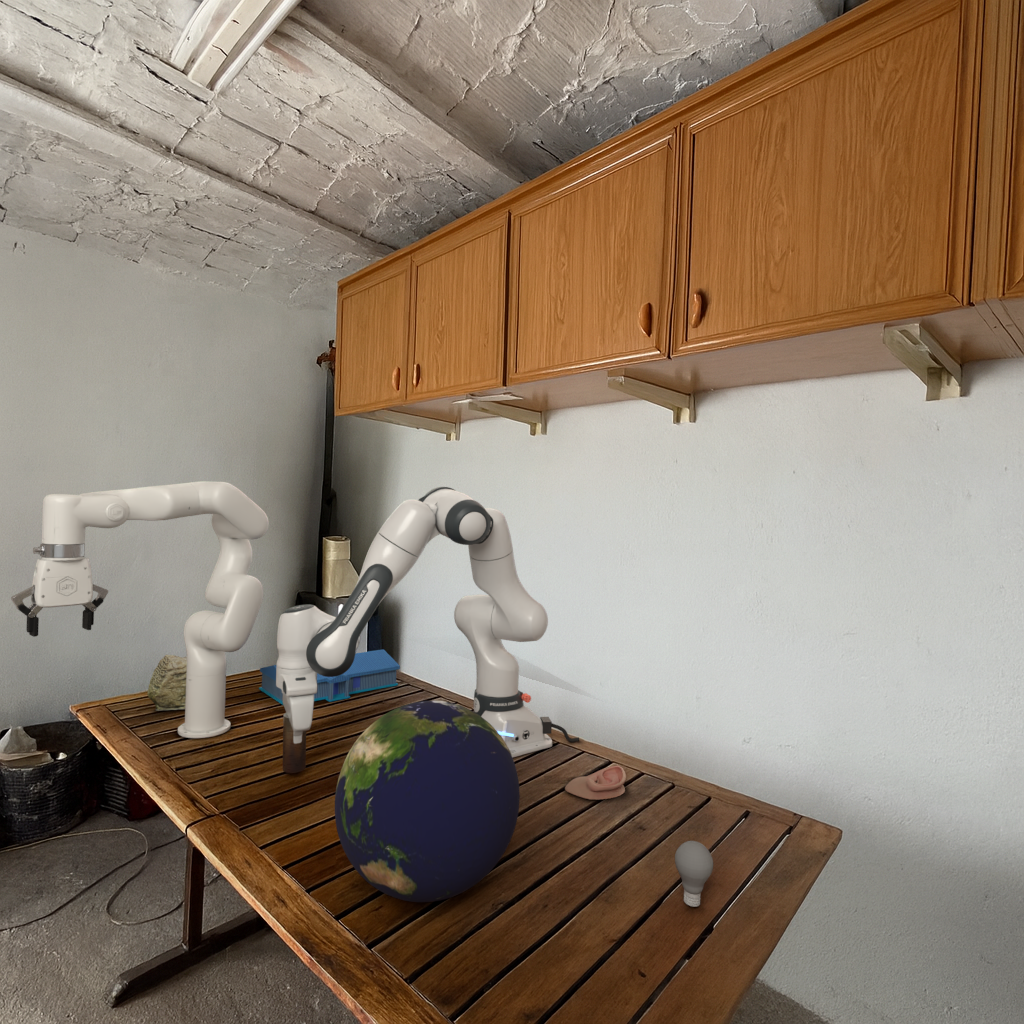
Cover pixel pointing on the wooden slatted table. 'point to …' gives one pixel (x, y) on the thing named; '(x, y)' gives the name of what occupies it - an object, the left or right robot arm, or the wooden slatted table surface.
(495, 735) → the globe
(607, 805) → the wooden slatted table surface
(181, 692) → the fossil
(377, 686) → the model building
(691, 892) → the light bulb
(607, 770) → the rubber human ear
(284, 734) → the tin
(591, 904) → the wooden slatted table surface
